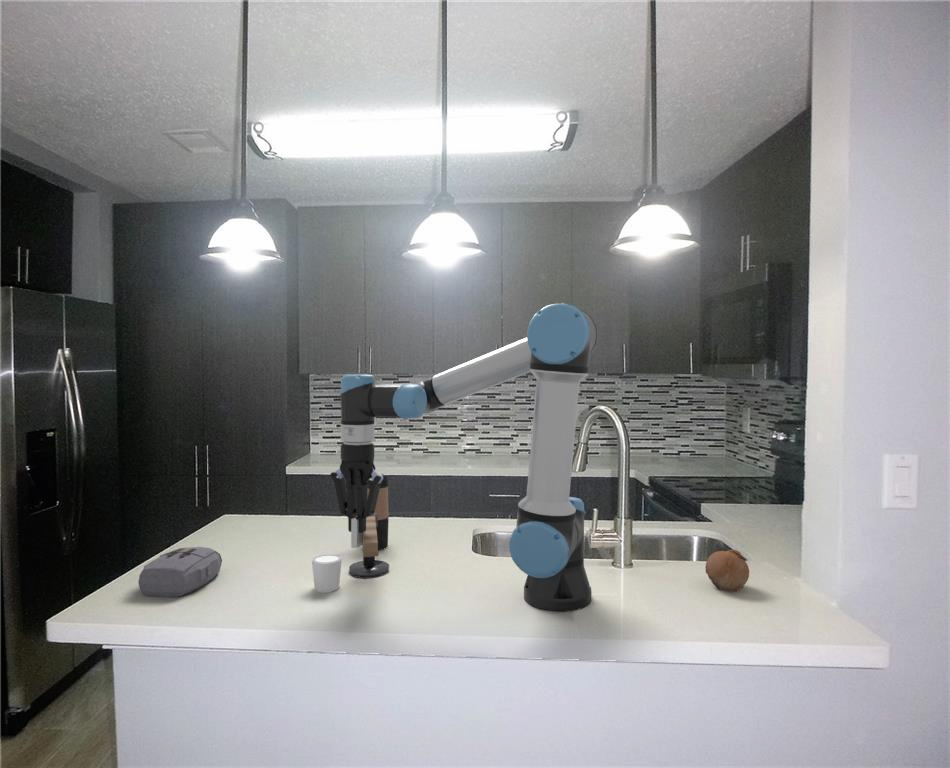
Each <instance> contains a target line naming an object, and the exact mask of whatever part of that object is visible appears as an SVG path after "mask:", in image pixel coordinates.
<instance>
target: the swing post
mask: <svg viewBox="0 0 950 768" xmlns="http://www.w3.org/2000/svg"><path fill="white" fill-rule="evenodd" d="M389 571H390V564H389V563H388V562H387V561H384V560H379V559H376V556H375V557H364V551H363V550H362V560H360V561H356V562H353V563H352V564H350V565H349V566H348V574H350V575H351V576H353V577H354V578H355V577H356V578H363V579H365V578H366V579H369V578H377V577H381V576H384V575H386V574H387V573H389Z"/></svg>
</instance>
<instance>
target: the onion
mask: <svg viewBox="0 0 950 768" xmlns="http://www.w3.org/2000/svg"><path fill="white" fill-rule="evenodd" d="M746 561H747V559H746V557H744V555H743V554H742V552H740V551H738V550H736V549H726V550H717V551H715V552H713V553H711V554H710V555H709V557H708V558H707V560H706V563H705V573H706V574H707V577H708V578H709V581H711V583H712V584H713V586H714V587H715V588H716V589H718V590H720V589H721V590H724V591H728V592H738V591H739V590H742V589H743V588H744V587H745V584H747V582H748V580H749V578H750V569H749V565H748V562H746Z"/></svg>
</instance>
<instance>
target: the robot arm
mask: <svg viewBox="0 0 950 768" xmlns="http://www.w3.org/2000/svg"><path fill="white" fill-rule="evenodd" d="M598 340H599V330H598V326H597V324H596V322H595V320H594V318H593V317H592V316H591V315H590V314H589V313H588V312H586V311H585V310H582V309H580V308H579V307H577V306H575V305H573V304H570V303H569V304H568V303H564V302H562V303H551V304H549V305H546V306H544V307H543V308H540V309H539V310H538V311H537V312H536V313H535V314H534V315H533V316H532V318H531V320H530V321H529V323H528V326H527V332H526V337H524V338H522V339H519V340H517V341H515V342H512V343H509V344H507V345H505V346H502V347H500V348H498V349H495V350H493V351H490V352H488V353H486V354H483V355H481V356H479V357H476V358H473V359H471V360H469V361H467V362H464V363H462V364H459V365H456V366H454V367H451V368H449V369H447V370H445V371H442V372H438V373H437V374H435V375H433V376H430V377H428V378H425V379H422V380H421V381H417V382H408V383H407V382H406V383H378V382H376V378H375V376H374V375H373V374H345V375H343V376H342V378H341V380H340V381H341V383H340V385H341V386H340V394H339V395H340V441H341V442H343V443H341V445H340V460H341V462H340V466H339V468H338V469H337V470H336V471H333V472H330V477H331V479H332V481H333V483H334V487H335V493H336V497H337V502H338V507H339V512H340V514H341V515H345V516H346V518H348V522H347V523H348V525H347V526H348V528H347V529H348V532H349V533H350V540H351V541H350V543H351V545H350V548H352V549H358V548H361V547H363V532H365V531H366V518H367V517H369V516H371V515H373V514H374V512H375V507H376V503H377V498H378V494H379V490H380V485H381V483H382V481H383V480H384V478H385V474H384V473H382V474H380V473H379V472H378V471H377V470H376V466H375V463H374V460H375V444H374V443H373V442H374V441H375V439H376V438H375V420H376V419H375V418H390V419H391V418H393V419H403V420H409V419H420V418H422V416H423V414H429V413H433V412H435V411H436V410H437V411H438V410H439V408H442V407H444V406H446V405H449V404H452V403H454V402H457V401H460V400H462V399H465V398H467V397H469V396H472V395H474V394H477V393H479V392H482V391H485V390H488V389H490V388H493V387H495V386H497V385H502V384H503V383H507V382H508V381H511V380H513V379H516V378H519V377H521V376H523V375H526V374H528V373H531V374H532V375H533V376H534V377H535V379H536V380H535V395H534V404H533V405H534V406H533V417H532V427H531V428H532V429H531V442H530V452H529V464H528V477H527V487H526V496H525V497H523V498H522V499H520V501H519V502H518V504H517V517H516V526H515V528H514V530H513V531H512V533H511V534H510V535H511V537H510V538H509V539H510V540H509V543H508V544H509V546H508V549H509V554H510V557H511V559H512V562H513V563H514V564H515V565H516V566H517V567H518V569H519V570H520V571H521V572H523V573H524V574H526V575H527V577H526V579H525V581H524V582H525V583H524V585H523V599H524V600H525V602H526V603H527V604H529V605H531V606H533V607H534V608H535V607H536V608H537V609H542V610H547V611H554V612H569V611H577V610H582V609H585V608H587V607H588V606H589V605H590V604H591V603H592V587H591V584H590V582H589V578H588V574H587V572H586V568H585V562H584V561H585V559H584V556H585V553H584V550H585V515H586V511H585V504H584V502H583V500H582V499H581V498H578V497H573V496H570V493H571V480H572V470H573V460H574V459H573V458H574V447H575V439H576V438H575V437H576V425H577V414H578V404H579V403H578V402H579V395H580V393H579V392H580V384H581V382H582V381H583V380H584V379H585V378H587V376H589V367H590V357H591V354H592V353H593V352H594V351H595V349H596V347H597V345H598ZM371 476H372V479H371V481H372V483H371V486H370V490H369V495H368V499H367V488H368V485H369V479H370V478H371ZM345 480H346V481H345Z"/></svg>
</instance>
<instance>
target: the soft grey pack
mask: <svg viewBox="0 0 950 768" xmlns="http://www.w3.org/2000/svg"><path fill="white" fill-rule="evenodd" d="M222 563H223V559H222V556H221V554H220V552H218V551H216V550H215V549H214V548H211V547H206V546H191V547H189V546H188V547H182V548H181V547H180V548H177V549H174V550H171V551H169V552H166V553H164V554H163V553H162V554H161V555H159V556H158V557H157V558H156V559H154V560H152V561H150V562H148V563H147V564H145V565H144V566H143V569H142V570H141V572H140V573H139V576H138V587H139V591H141V593H142V594H143V595H145V596H148V597H155V598H177V597H182V596H184V595H187V594H189V593H193V592H195V591H196V590H198V589H201V588H202V587H204V586H205V585H207V584H208V583H209V582H210V581H212V580H213V579H214V578H215V577H216V576H218V574H219V573H220V571H221V566H222Z"/></svg>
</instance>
